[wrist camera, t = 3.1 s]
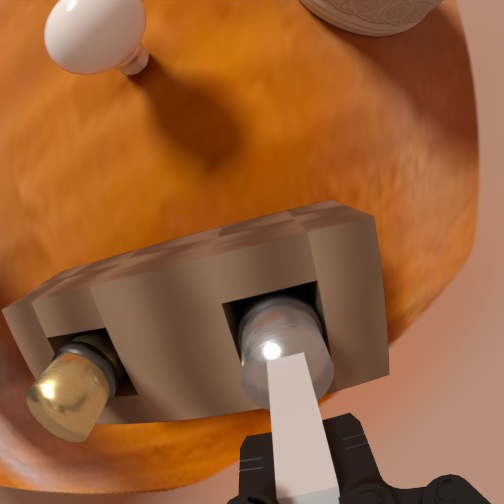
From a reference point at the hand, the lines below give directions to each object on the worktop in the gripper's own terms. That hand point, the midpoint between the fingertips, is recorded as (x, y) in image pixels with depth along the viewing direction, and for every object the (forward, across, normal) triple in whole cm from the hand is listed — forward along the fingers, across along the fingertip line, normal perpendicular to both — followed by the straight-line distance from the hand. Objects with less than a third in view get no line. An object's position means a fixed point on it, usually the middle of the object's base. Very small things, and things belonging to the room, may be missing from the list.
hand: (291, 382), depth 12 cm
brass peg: (+7, -12, 0) cm, 14 cm away
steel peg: (+8, 0, 0) cm, 8 cm away
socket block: (+13, -6, 0) cm, 15 cm away
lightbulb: (+13, -6, +20) cm, 25 cm away
